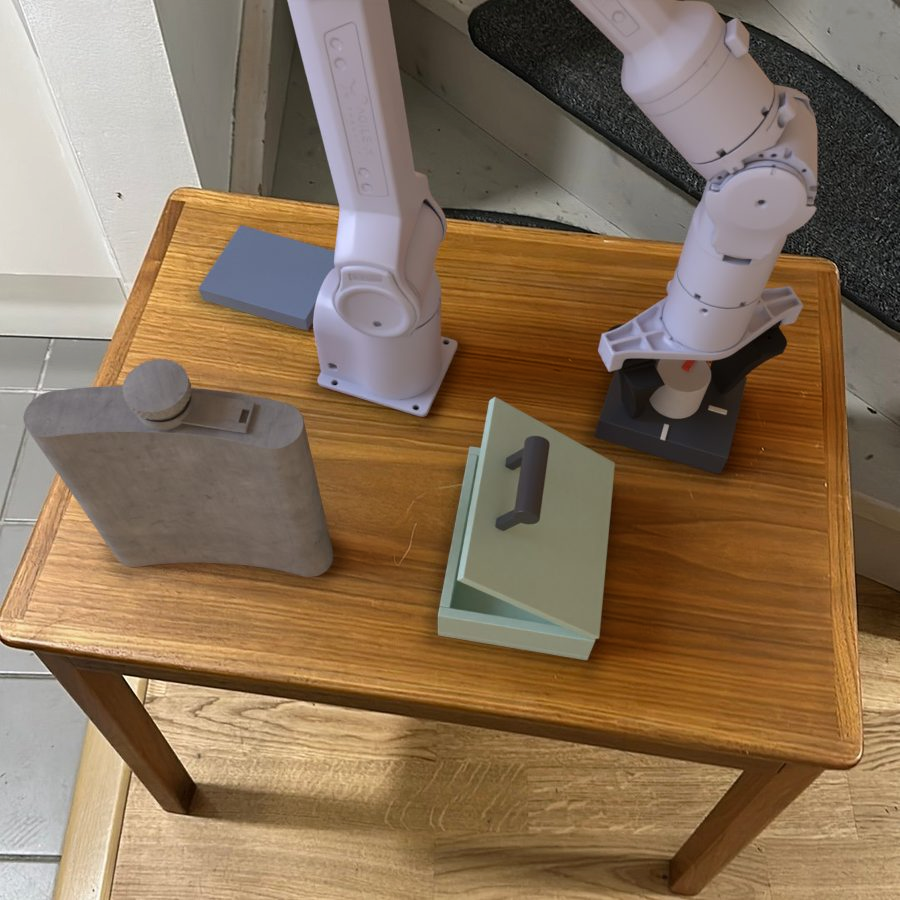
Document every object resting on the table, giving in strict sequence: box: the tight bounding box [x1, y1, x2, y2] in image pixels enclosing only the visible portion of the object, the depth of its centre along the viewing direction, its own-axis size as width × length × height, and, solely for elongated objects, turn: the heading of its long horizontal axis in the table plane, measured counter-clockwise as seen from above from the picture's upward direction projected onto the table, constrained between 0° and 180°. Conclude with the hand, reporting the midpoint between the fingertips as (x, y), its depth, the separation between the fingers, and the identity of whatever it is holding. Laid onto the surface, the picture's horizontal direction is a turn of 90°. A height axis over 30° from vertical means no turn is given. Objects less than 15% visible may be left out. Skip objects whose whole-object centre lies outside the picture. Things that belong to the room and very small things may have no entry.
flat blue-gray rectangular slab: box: [198, 224, 335, 331], centre depth 80 cm, size 10×8×2 cm
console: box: [593, 359, 747, 475], centre depth 73 cm, size 10×8×3 cm
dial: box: [649, 359, 711, 419], centre depth 70 cm, size 4×4×4 cm
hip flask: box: [22, 358, 335, 578], centre depth 59 cm, size 16×4×20 cm, turn 87°
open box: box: [437, 445, 596, 661], centre depth 65 cm, size 10×13×4 cm
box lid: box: [457, 396, 616, 641], centre depth 60 cm, size 11×13×4 cm
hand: (674, 395), depth 71 cm, fingers open, 7 cm apart
